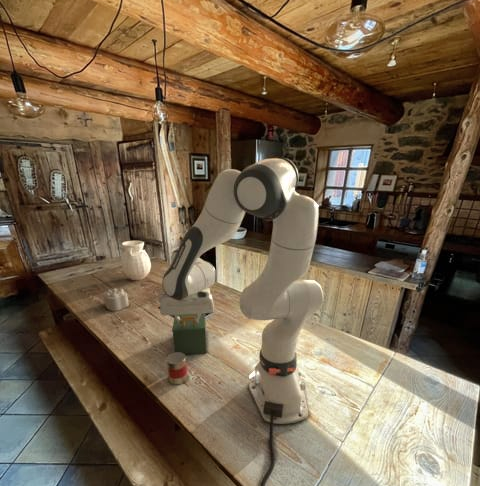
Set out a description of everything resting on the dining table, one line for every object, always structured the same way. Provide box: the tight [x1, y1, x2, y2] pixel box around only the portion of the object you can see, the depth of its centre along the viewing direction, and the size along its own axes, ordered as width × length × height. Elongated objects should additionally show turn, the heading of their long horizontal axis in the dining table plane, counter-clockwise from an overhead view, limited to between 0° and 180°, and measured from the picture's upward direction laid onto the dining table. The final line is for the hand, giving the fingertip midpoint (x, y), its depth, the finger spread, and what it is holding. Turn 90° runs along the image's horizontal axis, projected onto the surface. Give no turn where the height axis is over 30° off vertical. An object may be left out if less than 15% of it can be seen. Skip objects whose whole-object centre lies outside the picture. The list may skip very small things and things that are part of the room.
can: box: [166, 351, 188, 385], centre depth 94 cm, size 6×6×9 cm
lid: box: [171, 313, 206, 333], centre depth 109 cm, size 16×13×5 cm
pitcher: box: [120, 240, 152, 281], centre depth 180 cm, size 19×18×25 cm
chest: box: [172, 318, 207, 356], centre depth 113 cm, size 16×13×12 cm
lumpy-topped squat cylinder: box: [103, 288, 130, 312], centre depth 146 cm, size 10×13×9 cm
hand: (188, 322), depth 104 cm, fingers closed on lid, 5 cm apart
